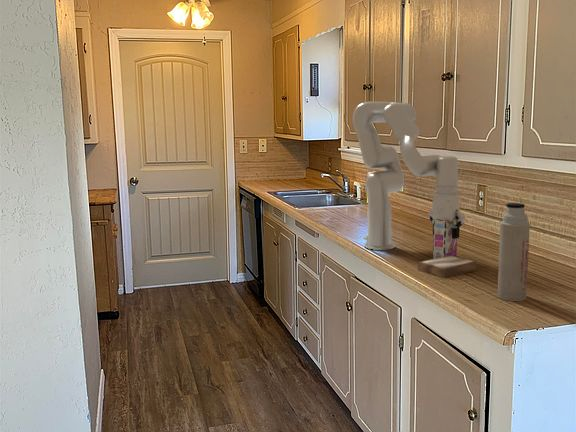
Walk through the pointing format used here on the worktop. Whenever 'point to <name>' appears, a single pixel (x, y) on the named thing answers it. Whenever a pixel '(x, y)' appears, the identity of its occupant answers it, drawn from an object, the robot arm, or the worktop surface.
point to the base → (447, 266)
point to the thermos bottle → (513, 253)
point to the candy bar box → (443, 239)
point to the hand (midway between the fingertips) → (445, 236)
